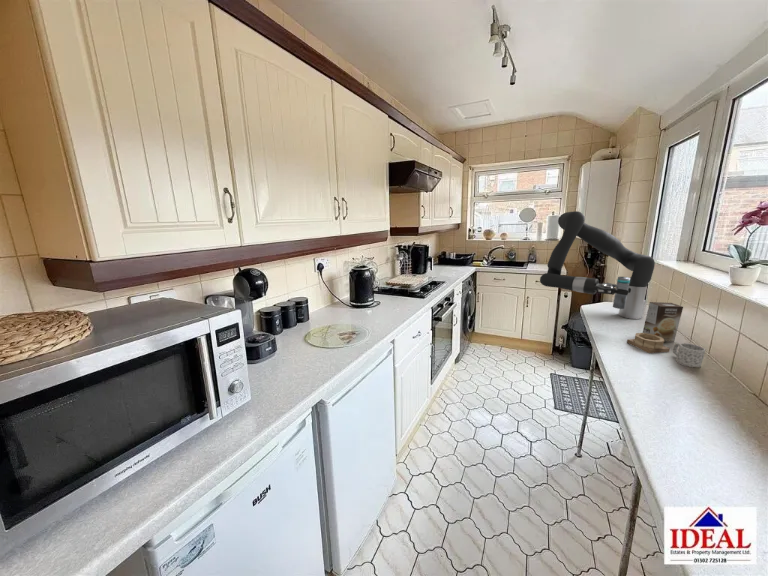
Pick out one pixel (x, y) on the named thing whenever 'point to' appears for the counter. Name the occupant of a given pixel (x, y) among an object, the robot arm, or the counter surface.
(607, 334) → the counter surface
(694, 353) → the mug
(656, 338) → the dock
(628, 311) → the robot arm
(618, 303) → the cylinder
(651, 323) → the coffee box
